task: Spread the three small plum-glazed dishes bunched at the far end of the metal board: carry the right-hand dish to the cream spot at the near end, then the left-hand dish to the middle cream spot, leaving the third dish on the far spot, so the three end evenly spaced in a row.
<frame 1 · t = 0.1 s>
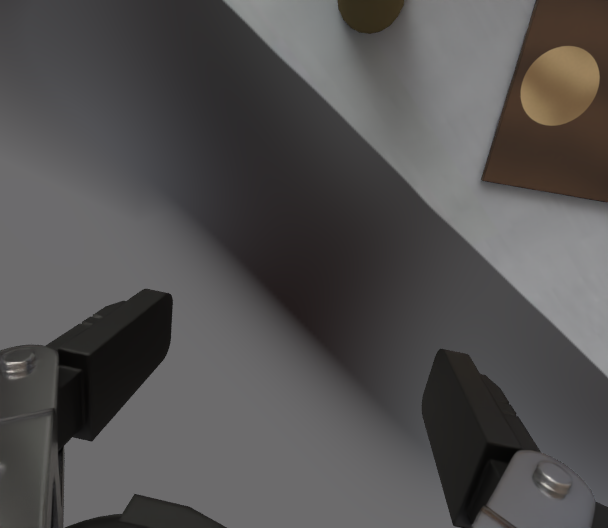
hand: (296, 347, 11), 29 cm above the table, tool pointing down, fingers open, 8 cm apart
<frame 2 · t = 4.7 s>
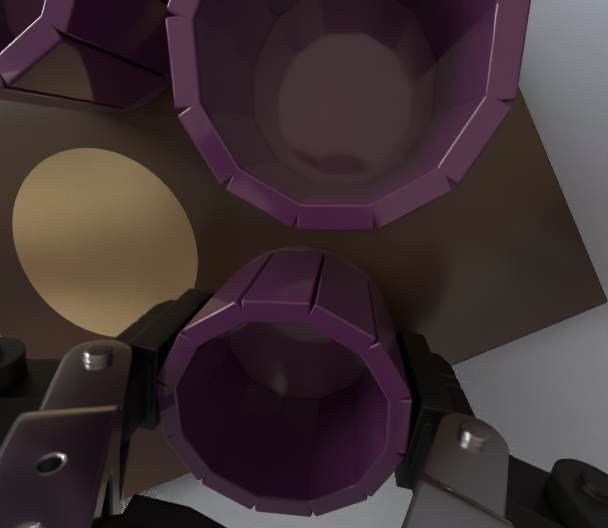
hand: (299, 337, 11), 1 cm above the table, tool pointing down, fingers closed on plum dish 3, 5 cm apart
plum dish 3: (303, 326, 12), point 1 cm above the table, touching gripper, metal board
plum dish 2: (97, 1, 10), point 1 cm above the table, touching metal board
plum dish 1: (341, 95, 10), point 1 cm above the table, touching metal board
metal board: (114, 245, 13), on the table
when the fingers open (1 cm above the table, at t = 11.5 s): plum dish 3 stays where it is, resting on metal board.
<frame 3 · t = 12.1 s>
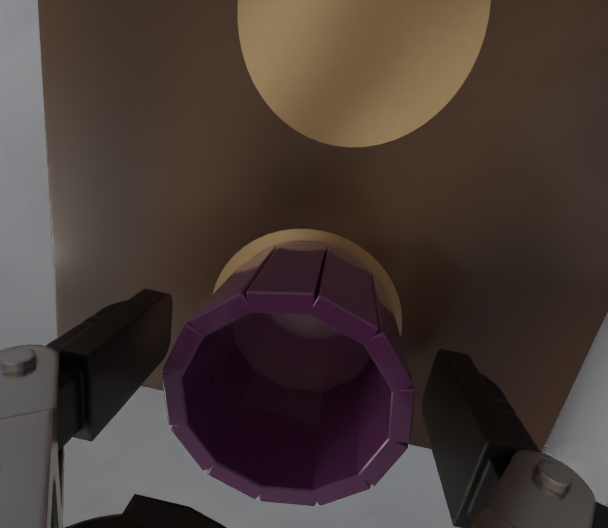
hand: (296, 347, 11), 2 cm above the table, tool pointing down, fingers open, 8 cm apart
plum dish 3: (305, 320, 12), point 1 cm above the table, touching metal board
metal board: (358, 23, 10), on the table
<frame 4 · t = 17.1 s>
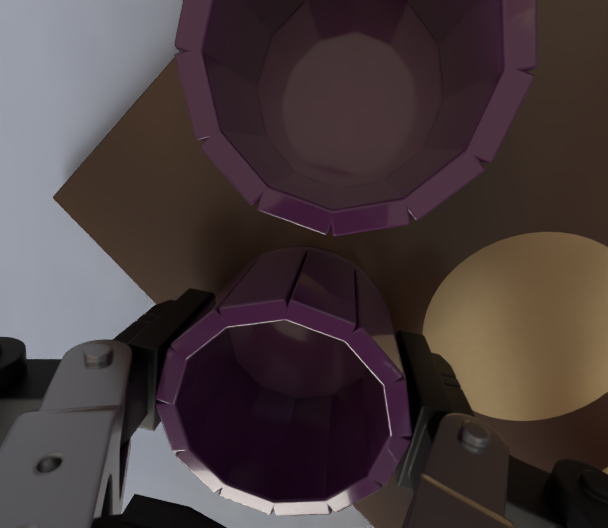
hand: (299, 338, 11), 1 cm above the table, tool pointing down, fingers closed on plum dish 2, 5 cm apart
plum dish 2: (302, 327, 12), point 1 cm above the table, touching gripper, metal board
plum dish 1: (347, 97, 10), point 1 cm above the table, touching metal board
metal board: (521, 325, 12), on the table
when the fingers open (1 cm above the table, at t = 23.8 s): plum dish 2 stays where it is, resting on metal board.
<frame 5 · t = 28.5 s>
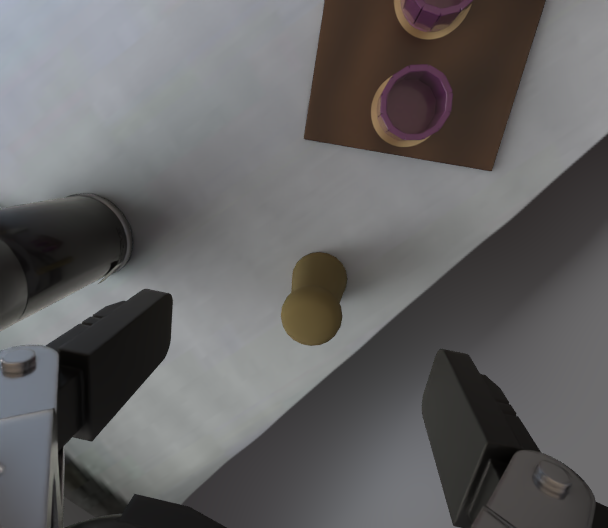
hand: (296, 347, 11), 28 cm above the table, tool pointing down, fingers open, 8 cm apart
yellow pawn figure: (319, 278, 40), on the table
plum dish 3: (407, 108, 34), point 1 cm above the table, touching metal board
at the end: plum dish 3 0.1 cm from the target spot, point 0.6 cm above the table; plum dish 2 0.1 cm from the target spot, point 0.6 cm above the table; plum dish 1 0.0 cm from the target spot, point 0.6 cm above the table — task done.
